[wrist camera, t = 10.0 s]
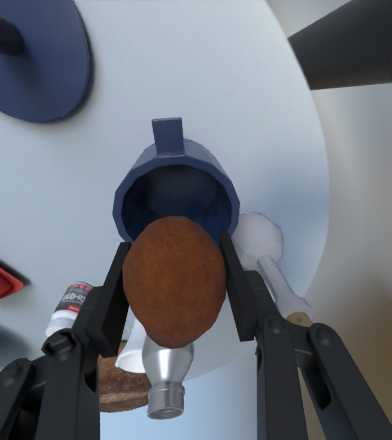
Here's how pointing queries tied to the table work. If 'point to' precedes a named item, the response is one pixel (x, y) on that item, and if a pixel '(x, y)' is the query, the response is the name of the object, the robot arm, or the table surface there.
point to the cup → (133, 350)
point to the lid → (41, 59)
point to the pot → (175, 186)
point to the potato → (174, 281)
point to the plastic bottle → (166, 378)
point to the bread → (121, 386)
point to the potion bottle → (269, 264)
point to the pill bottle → (68, 307)
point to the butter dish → (8, 284)
